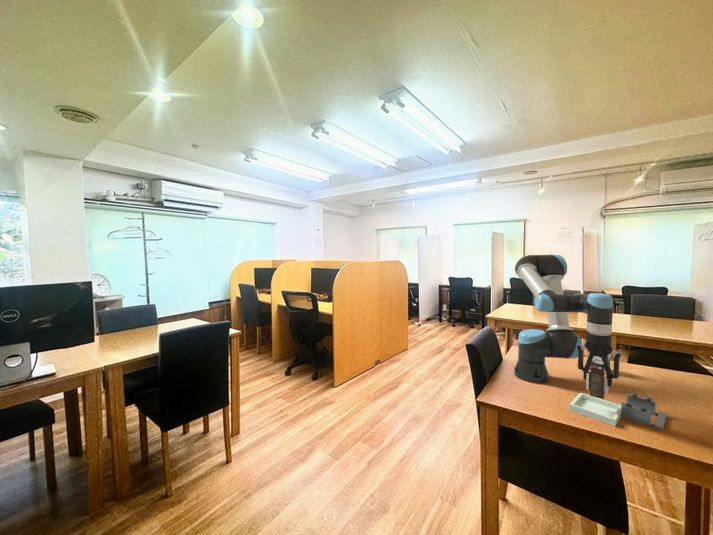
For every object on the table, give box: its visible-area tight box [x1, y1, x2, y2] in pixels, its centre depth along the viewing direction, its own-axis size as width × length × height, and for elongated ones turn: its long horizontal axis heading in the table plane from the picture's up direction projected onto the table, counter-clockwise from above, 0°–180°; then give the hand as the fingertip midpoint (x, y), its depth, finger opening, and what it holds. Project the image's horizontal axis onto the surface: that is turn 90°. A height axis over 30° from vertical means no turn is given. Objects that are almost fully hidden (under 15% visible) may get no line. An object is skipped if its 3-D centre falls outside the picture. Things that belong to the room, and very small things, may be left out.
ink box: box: [587, 350, 612, 374], centre depth 150 cm, size 9×5×12 cm, turn 37°
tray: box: [568, 392, 622, 427], centre depth 115 cm, size 14×14×3 cm
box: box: [589, 362, 606, 400], centre depth 114 cm, size 6×4×12 cm
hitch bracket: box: [620, 392, 668, 431], centre depth 110 cm, size 11×13×6 cm
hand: (597, 390), depth 114 cm, fingers closed on box, 5 cm apart
